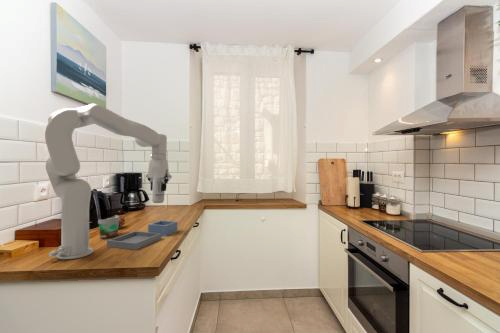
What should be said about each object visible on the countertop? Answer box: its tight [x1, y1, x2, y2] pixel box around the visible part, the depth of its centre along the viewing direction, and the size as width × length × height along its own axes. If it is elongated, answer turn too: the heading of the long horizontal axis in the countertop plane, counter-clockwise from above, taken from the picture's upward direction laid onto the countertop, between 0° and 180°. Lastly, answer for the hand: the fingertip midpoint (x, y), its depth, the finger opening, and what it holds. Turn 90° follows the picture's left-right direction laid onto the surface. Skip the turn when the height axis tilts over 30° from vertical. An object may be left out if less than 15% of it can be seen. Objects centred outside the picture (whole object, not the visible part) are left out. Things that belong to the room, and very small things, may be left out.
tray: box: [106, 230, 162, 251], centre depth 122 cm, size 18×16×3 cm
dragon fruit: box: [110, 214, 126, 230], centre depth 149 cm, size 8×8×12 cm
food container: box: [97, 214, 120, 240], centre depth 132 cm, size 12×6×10 cm, turn 168°
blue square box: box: [147, 220, 178, 237], centre depth 140 cm, size 11×11×6 cm
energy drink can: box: [151, 177, 165, 204], centre depth 137 cm, size 6×6×15 cm
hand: (158, 190), depth 137 cm, fingers closed on energy drink can, 6 cm apart
